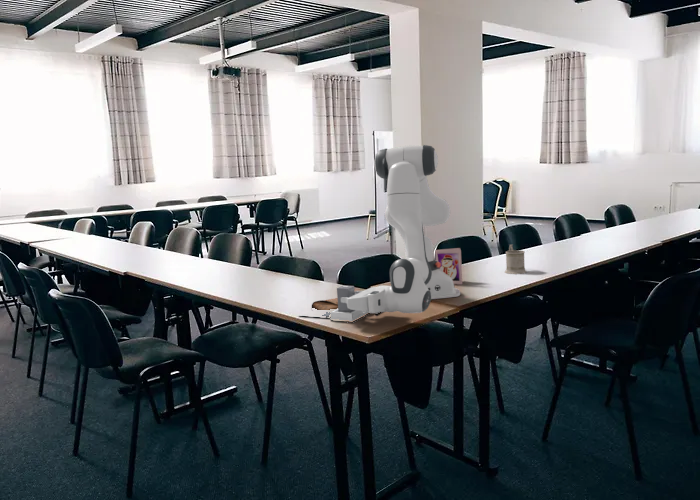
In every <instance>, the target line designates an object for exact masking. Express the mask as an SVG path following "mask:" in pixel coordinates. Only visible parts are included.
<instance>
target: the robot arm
mask: <svg viewBox="0 0 700 500" xmlns="http://www.w3.org/2000/svg"><path fill="white" fill-rule="evenodd" d="M373 160H374V162H373V166H374V170H375V173H376V175H377V176H378V177H379V178H381V179H384V181H387V185H386V203H387V205H386V207H385V210H384V217H385V221H386V222H387V223H388V224H389V225H390V226H391V227H393V229H395V230H396V231H397V232H398V234H399V235H400V236H401V239H402V241H403V245H404V255H405V258H400V259H397V260H395V261H393V263H392V264H391V266H390V268H389V283H390V285H384V284H382V285H380V284H379V285H378V286H371V287H369V288H367V289H365V290H363V289H362V290H354V291H355V295H353V296H351V297H349V298H347V297H341V302H342V303H347V308H349V309H351V310H358V311H369V313H370V314H376V313H378V312H381V313H386V312H387V313H394V312H399V313H403V314H421V313H424V312H425V311H426V310H427V309H428V308H429V306H430V305H431V301H432V300H436V299H437V300H439V299H447V298H455V297H456V298H457V297H459V296H460V295H461V291H460V289H459V288H457V287H455V284H454V283H453V280H452V278H451V277H450V276H448V275H447V274H445V273H444V272H443V271H441V270H440V269H438V268H439V267H440V266H441V263H440V262H438V261H436V259H434V244H433V241H432V239H431V238H430V237H429V236H426V235H425V232H424V227H431V226H432V227H433V226H439V225H443V224H445V223H447V221H448V220H449V219H450V216H451V207H450V204H449V203H448V202H447V200H445V199H444V198H442V197H440V196H438V195H436V194H435V193H434V192H433V191H432V189H431V187H430V184H429V182H428V176H431V175H433V174H434V173H435V172H436V171H437V167H438V164H439V157H438V154H437V152H436V150H435V148H434V147H433V146H432V145H427V144H423V145H404V146H398V147H391V148H384V149H383V148H382V149H380V150H378V151H377V152H376V154H375V157H374V159H373Z"/></svg>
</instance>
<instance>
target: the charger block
mask: <svg viewBox="0 0 700 500" xmlns="http://www.w3.org/2000/svg"><path fill="white" fill-rule="evenodd" d="M355 291H356V290H355V286H354V285H341V286H338V287H336V296H337V297H336V298H338V312H349V313H351V312H353V311H355V310H351V309H349V308H347V303H342V302H341V297H347V298H349V297H351V296H353V295H355Z"/></svg>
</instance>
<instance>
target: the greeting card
mask: <svg viewBox="0 0 700 500" xmlns="http://www.w3.org/2000/svg"><path fill="white" fill-rule="evenodd" d="M434 251H435V253H434V254H435V255H434V256H435V260H436V261H438V262H440V263H441V266H440V267H439V268H438V269H440V270H441V271H443V272H444V273H445V274H447V275H448V276H450V277H451V278H452V280H453V283H454V285H463V271H462V250H461V247H454V248H442V249H435V250H434Z"/></svg>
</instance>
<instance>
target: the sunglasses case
mask: <svg viewBox="0 0 700 500" xmlns="http://www.w3.org/2000/svg"><path fill="white" fill-rule="evenodd" d="M312 308H315V309H317V310H330V309H337V308H338V298H337V297H335V298H329V299H326V300H325V299H323V300H316V301H313V302H312V303H311V309H312Z"/></svg>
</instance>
